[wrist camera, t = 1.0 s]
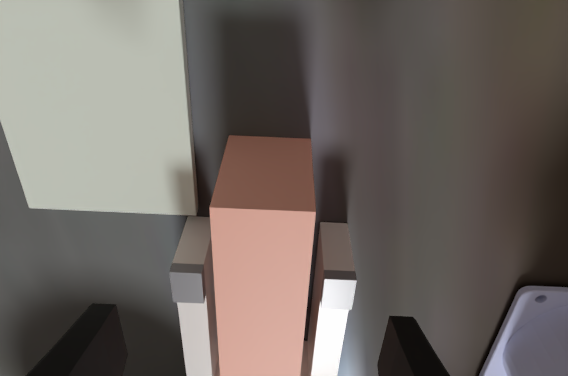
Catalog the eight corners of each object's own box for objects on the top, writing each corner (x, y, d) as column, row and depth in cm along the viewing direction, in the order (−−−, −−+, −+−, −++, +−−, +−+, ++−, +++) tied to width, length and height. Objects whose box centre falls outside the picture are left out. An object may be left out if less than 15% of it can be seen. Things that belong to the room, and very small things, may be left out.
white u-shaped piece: (347, 223, 20) (358, 290, 16) (321, 398, 27) (325, 469, 24) (187, 216, 20) (166, 281, 16) (204, 393, 27) (191, 464, 24)
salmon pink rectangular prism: (310, 136, 18) (315, 211, 14) (296, 311, 23) (297, 403, 19) (229, 133, 18) (209, 207, 13) (234, 309, 23) (221, 400, 19)
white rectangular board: (169, -179, 12) (163, -182, 12) (198, 207, 19) (196, 215, 19) (-88, -192, 12) (-104, -196, 12) (36, 199, 19) (29, 208, 19)
